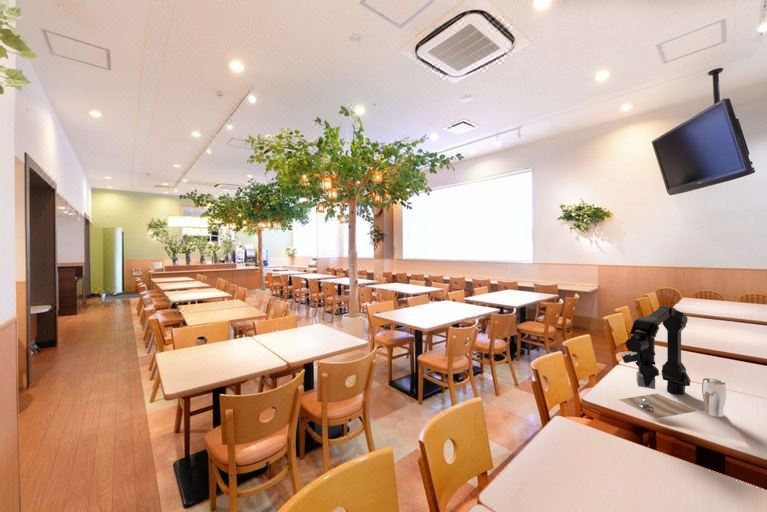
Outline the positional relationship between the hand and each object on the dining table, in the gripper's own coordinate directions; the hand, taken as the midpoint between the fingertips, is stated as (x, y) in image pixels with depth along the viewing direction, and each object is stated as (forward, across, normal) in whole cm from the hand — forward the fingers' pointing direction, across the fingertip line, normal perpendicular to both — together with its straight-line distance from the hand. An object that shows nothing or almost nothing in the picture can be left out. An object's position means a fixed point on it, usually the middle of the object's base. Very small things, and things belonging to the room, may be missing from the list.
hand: (645, 383), depth 136 cm
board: (+12, -4, +4) cm, 13 cm away
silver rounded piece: (+10, 0, 0) cm, 10 cm away
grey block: (+1, 0, 0) cm, 1 cm away
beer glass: (+12, -7, +23) cm, 27 cm away
